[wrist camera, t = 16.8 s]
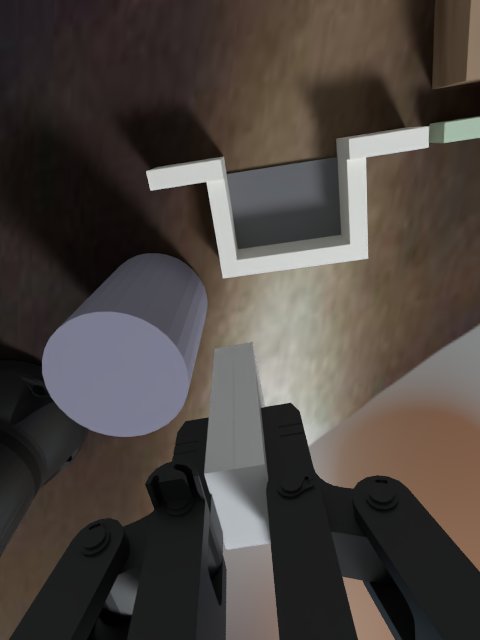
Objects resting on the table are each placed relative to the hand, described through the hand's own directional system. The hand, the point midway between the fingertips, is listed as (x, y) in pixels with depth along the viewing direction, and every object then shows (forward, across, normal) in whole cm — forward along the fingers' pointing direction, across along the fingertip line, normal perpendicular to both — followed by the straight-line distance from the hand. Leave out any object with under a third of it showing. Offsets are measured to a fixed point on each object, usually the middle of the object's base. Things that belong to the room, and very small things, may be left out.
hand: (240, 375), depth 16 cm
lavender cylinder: (+26, -9, -5) cm, 28 cm away
